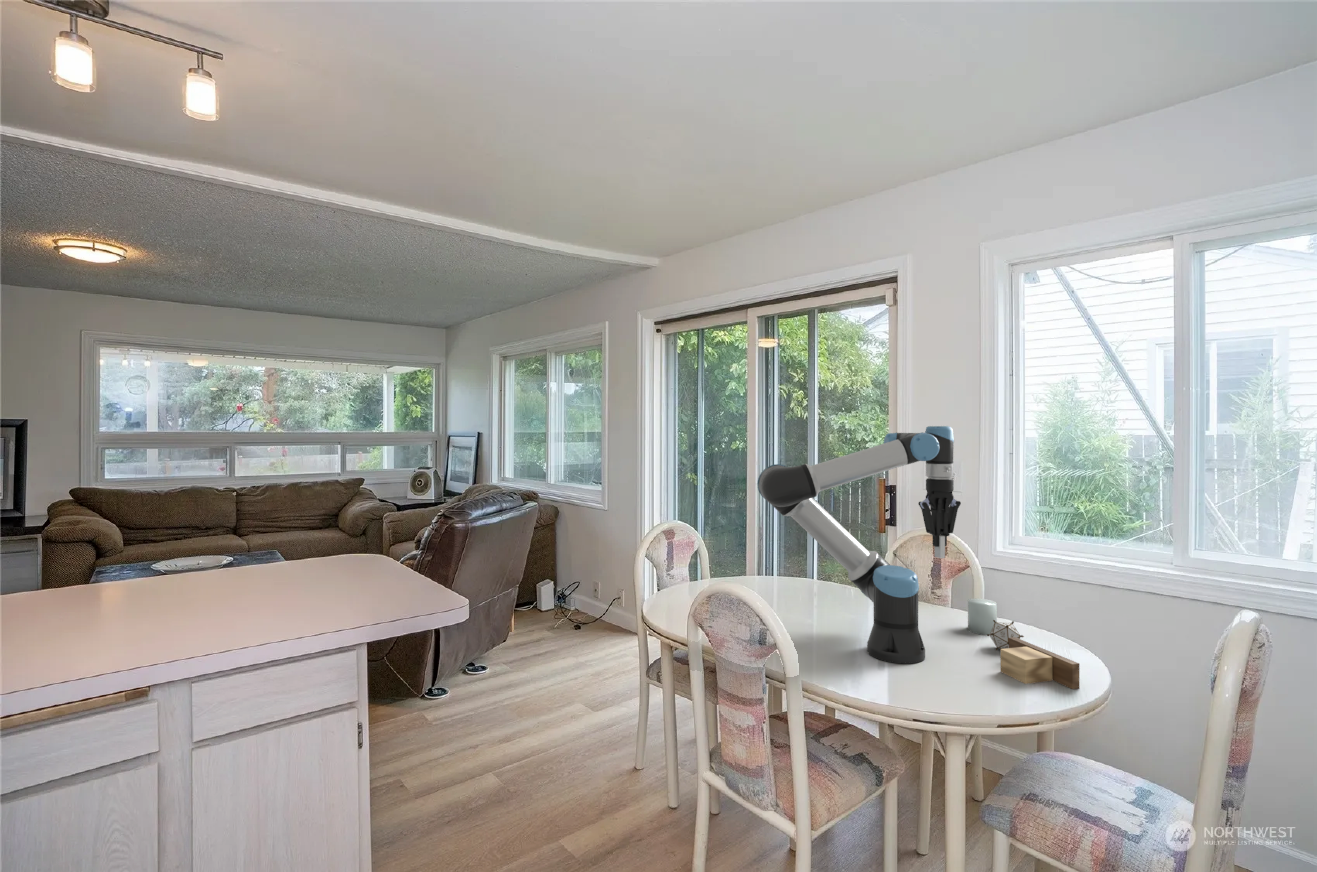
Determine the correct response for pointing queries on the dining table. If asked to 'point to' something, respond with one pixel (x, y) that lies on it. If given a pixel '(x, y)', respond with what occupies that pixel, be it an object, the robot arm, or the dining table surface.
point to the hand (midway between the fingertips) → (939, 557)
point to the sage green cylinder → (981, 615)
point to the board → (1055, 664)
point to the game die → (1003, 634)
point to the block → (1026, 664)
